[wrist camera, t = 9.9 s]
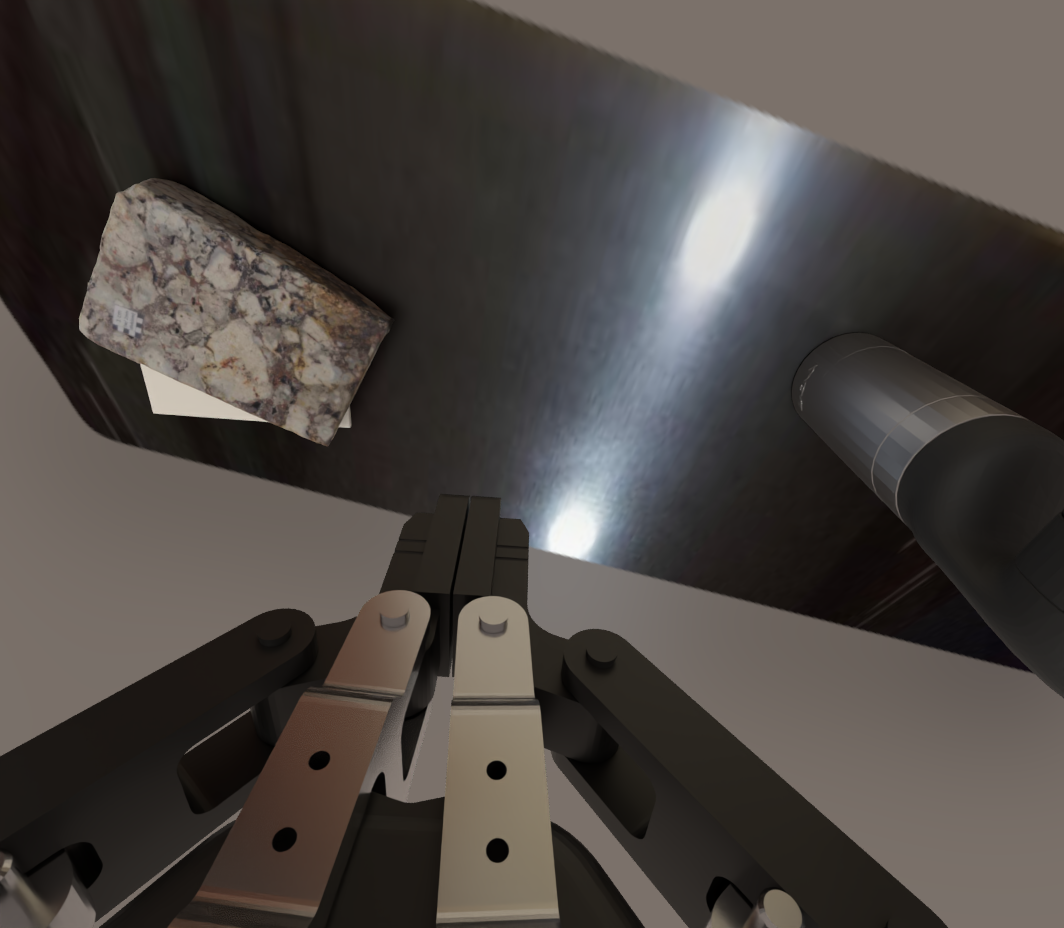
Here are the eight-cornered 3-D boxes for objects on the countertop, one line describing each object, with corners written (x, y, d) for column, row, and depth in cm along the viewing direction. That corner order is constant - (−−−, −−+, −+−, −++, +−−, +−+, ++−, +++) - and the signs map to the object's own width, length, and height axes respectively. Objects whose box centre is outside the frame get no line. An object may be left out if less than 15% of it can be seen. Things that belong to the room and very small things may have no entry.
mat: (341, 308, 48) (340, 309, 48) (351, 425, 54) (349, 427, 53) (125, 290, 48) (121, 291, 47) (156, 411, 53) (153, 413, 52)
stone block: (320, 460, 47) (62, 334, 42) (339, 430, 54) (117, 318, 48) (393, 322, 43) (118, 162, 38) (404, 308, 50) (170, 169, 44)
